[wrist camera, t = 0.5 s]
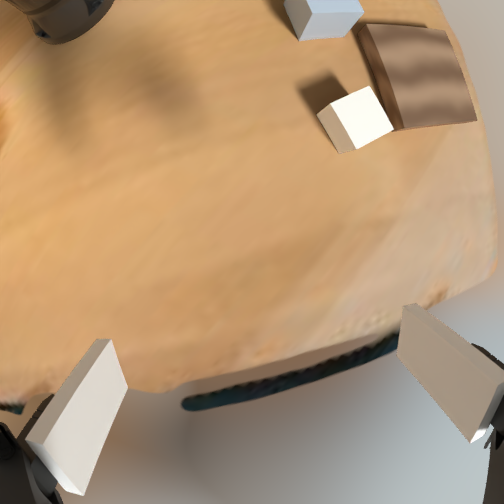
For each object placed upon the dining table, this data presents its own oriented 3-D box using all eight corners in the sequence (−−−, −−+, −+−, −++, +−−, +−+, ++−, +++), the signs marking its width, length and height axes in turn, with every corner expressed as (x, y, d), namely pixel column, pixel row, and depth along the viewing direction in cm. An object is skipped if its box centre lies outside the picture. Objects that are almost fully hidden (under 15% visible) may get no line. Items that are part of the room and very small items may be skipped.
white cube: (316, 114, 35) (330, 103, 29) (351, 98, 35) (369, 85, 29) (338, 154, 37) (356, 149, 31) (372, 135, 36) (393, 129, 30)
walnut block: (356, 35, 33) (366, 24, 29) (432, 38, 33) (444, 30, 29) (390, 132, 37) (404, 128, 33) (462, 123, 37) (477, 120, 33)
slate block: (283, 4, 31) (293, -26, 23) (327, 2, 31) (343, -26, 23) (298, 41, 33) (312, 13, 25) (343, 37, 33) (364, 12, 25)
